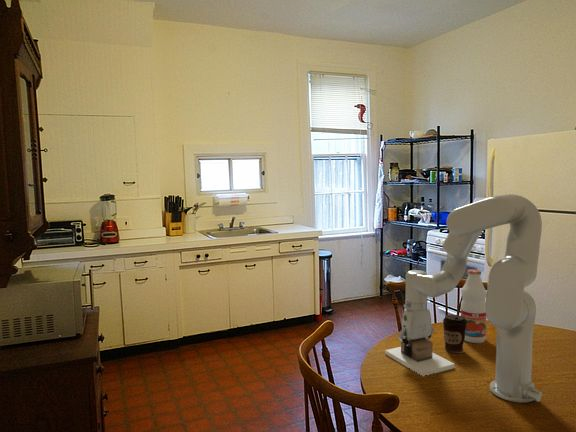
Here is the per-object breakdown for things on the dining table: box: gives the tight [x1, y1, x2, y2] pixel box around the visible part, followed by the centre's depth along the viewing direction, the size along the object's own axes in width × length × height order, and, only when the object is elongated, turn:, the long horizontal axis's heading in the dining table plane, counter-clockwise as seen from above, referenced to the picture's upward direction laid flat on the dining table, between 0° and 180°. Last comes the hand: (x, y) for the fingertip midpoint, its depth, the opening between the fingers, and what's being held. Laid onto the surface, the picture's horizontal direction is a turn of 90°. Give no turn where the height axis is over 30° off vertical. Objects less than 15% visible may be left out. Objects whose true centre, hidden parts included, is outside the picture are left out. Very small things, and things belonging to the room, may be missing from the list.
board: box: [384, 346, 456, 377], centre depth 153 cm, size 20×14×2 cm
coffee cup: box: [442, 314, 467, 354], centre depth 161 cm, size 9×8×13 cm
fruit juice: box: [460, 268, 487, 344], centre depth 171 cm, size 9×9×28 cm
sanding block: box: [400, 336, 434, 362], centre depth 154 cm, size 9×6×6 cm
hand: (415, 353), depth 154 cm, fingers closed on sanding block, 6 cm apart
